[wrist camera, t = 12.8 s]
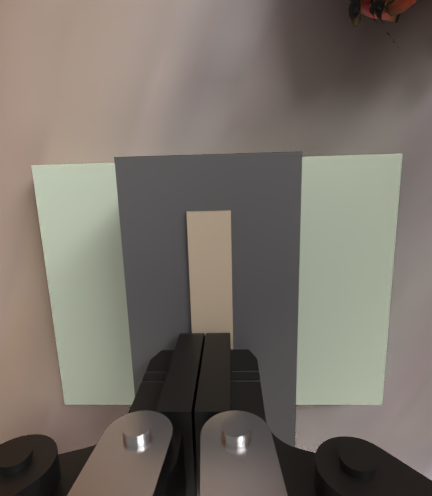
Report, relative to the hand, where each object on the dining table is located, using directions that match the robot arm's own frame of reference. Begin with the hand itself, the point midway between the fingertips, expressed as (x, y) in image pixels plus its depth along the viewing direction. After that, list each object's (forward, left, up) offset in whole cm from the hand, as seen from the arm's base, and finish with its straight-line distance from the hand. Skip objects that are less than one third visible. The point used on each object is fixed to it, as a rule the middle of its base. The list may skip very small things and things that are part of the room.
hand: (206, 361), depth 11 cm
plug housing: (0, 0, -6) cm, 6 cm away
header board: (0, 0, -8) cm, 8 cm away
